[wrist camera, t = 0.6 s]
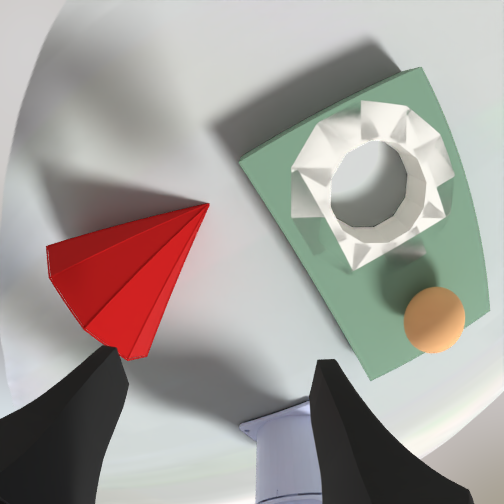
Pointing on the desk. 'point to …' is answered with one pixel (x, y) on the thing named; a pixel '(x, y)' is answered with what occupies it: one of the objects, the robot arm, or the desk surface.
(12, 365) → the desk surface
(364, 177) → the desk surface
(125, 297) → the gemstone
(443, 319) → the ball
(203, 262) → the desk surface
